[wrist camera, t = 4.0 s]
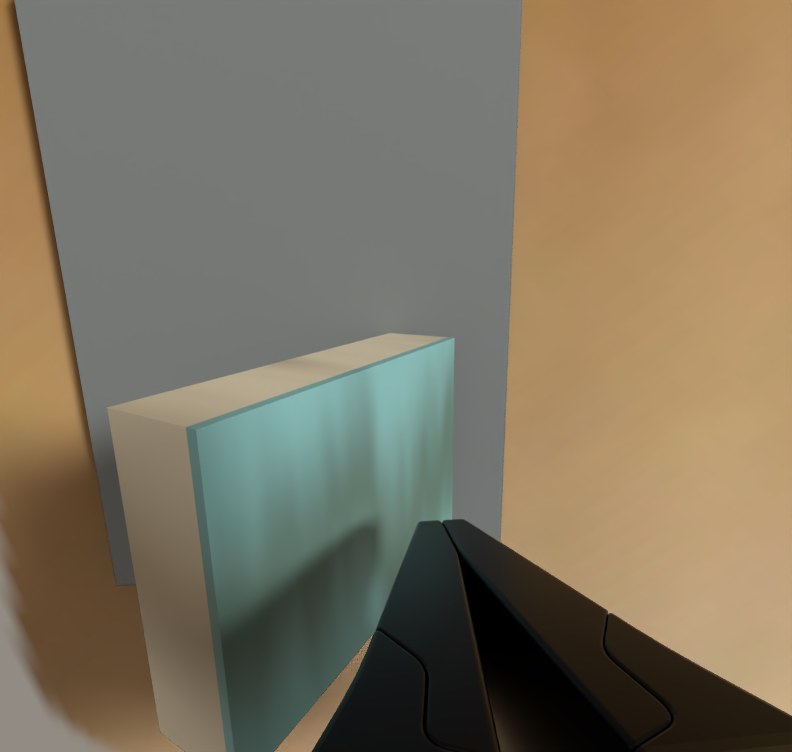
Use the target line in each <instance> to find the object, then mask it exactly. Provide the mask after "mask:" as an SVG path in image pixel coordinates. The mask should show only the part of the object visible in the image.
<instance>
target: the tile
mask: <svg viewBox="0 0 792 752" xmlns="http://www.w3.org/2000/svg"><path fill="white" fill-rule="evenodd" d="M454 339H455V338H450V337H437V336H424V335H410V334H397V333H388V334H384V335H380V336H376V337H373V338H369V339H365V340H361V341H357V342H354V343H350V344H346V345H342V346H339V347H335V348H331V349H327V350H323V351H320V352H316V353H312V354H308V355H304V356H301V357H297V358H293V359H289V360H285V361H282V362H278V363H274V364H270V365H267V366H263V367H259V368H255V369H251V370H248V371H244V372H240V373H236V374H232V375H229V376H225V377H221V378H217V379H213V380H210V381H206V382H202V383H198V384H195V385H191V386H187V387H183V388H179V389H176V390H172V391H168V392H164V393H160V394H157V395H153V396H149V397H145V398H141V399H138V400H134V401H130V402H126V403H122V404H119V405H115V406H111V407H107V410H108V416H109V422H110V428H111V434H112V441H113V447H114V453H115V459H116V465H117V471H118V477H119V484H120V490H121V496H122V502H123V508H124V514H125V520H126V526H127V533H128V539H129V545H130V551H131V557H132V563H133V569H134V575H135V582H136V588H137V594H138V600H139V606H140V612H141V618H142V625H143V631H144V637H145V643H146V649H147V655H148V661H149V667H150V674H151V680H152V686H153V692H154V698H155V704H156V710H157V716H158V723H159V729H160V733H162V734H163V735H164V736H166V737H167V738H168V739H169V740H171V741H172V742H173V743H175V744H176V745H177V746H179V747H180V748H181V749H182V750H184V751H185V752H274V751H275V750H276V749H277V748H278V746H279V745H280V744H281V743H282V742H283V740H284V739H285V738H286V737H287V736H288V734H289V733H290V732H291V731H292V730H293V729H294V727H295V726H296V725H297V724H298V723H299V721H300V720H301V719H302V718H303V717H304V715H305V714H306V713H307V712H308V711H309V710H310V708H311V707H312V706H313V705H314V704H315V702H316V701H317V700H318V699H319V698H320V696H321V695H322V694H323V693H324V692H325V690H326V689H327V688H328V687H329V686H330V685H331V683H332V682H333V681H334V680H335V679H336V677H337V676H338V675H339V674H340V673H341V671H342V670H343V669H344V668H345V667H346V665H347V664H348V663H349V662H350V661H351V660H352V658H353V657H354V656H355V655H356V654H357V652H358V651H359V650H360V649H361V648H362V646H363V645H364V644H365V643H366V642H367V641H368V639H369V638H370V637H371V636H372V635H373V633H374V632H375V631H376V628H377V625H378V623H379V620H380V617H381V615H382V612H383V610H384V607H385V605H386V602H387V600H388V597H389V595H390V592H391V590H392V587H393V585H394V582H395V579H396V577H397V574H398V572H399V569H400V567H401V564H402V562H403V559H404V557H405V554H406V552H407V549H408V547H409V544H410V542H411V539H412V536H413V534H414V531H415V529H416V526H417V524H418V523H419V522H420V521H432V520H439V521H441V523H442V521H444V520H450V519H452V485H453V412H454Z"/></svg>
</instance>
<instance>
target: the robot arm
mask: <svg viewBox="0 0 792 752" xmlns="http://www.w3.org/2000/svg"><path fill="white" fill-rule="evenodd" d="M312 752H792V716H791V715H789V714H788V713H786V712H784V711H782V710H780V709H778V708H776V707H775V706H773V705H771V704H769V703H767V702H765V701H764V700H762V699H760V698H758V697H756V696H754V695H753V694H751V693H749V692H747V691H745V690H743V689H742V688H740V687H738V686H736V685H734V684H732V683H730V682H729V681H727V680H725V679H723V678H721V677H719V676H718V675H716V674H714V673H712V672H710V671H708V670H707V669H705V668H703V667H701V666H699V665H698V664H696V663H694V662H692V661H691V660H689V659H687V658H685V657H683V656H682V655H680V654H678V653H676V652H675V651H673V650H671V649H669V648H667V647H666V646H664V645H662V644H661V643H659V642H657V641H656V640H654V639H653V638H651V637H649V636H648V635H646V634H644V633H643V632H641V631H639V630H638V629H636V628H635V627H633V626H631V625H630V624H628V623H627V622H625V621H623V620H622V619H620V618H619V617H617V616H616V615H614V614H612V613H609V614H608V611H607V610H606V609H604V608H603V607H601V606H600V605H598V604H597V603H595V602H593V601H592V600H590V599H589V598H587V597H586V596H584V595H582V594H581V593H579V592H578V591H576V590H575V589H573V588H571V587H570V586H568V585H567V584H565V583H564V582H562V581H560V580H559V579H557V578H556V577H554V576H553V575H551V574H549V573H548V572H546V571H545V570H543V569H542V568H540V567H539V566H537V565H535V564H534V563H532V562H531V561H529V560H528V559H526V558H524V557H523V556H521V555H520V554H518V553H517V552H515V551H513V550H512V549H510V548H509V547H507V546H506V545H504V544H502V543H501V542H499V541H498V540H496V539H495V538H493V537H491V536H490V535H488V534H487V533H485V532H484V531H482V530H480V529H479V528H477V527H476V526H474V525H473V524H471V523H469V522H468V521H466V520H464V519H450V520H444V521H442V523H441V521H439V520H432V521H420V522H419V523H418V524H417V526H416V529H415V531H414V534H413V536H412V539H411V542H410V544H409V547H408V549H407V552H406V554H405V557H404V559H403V562H402V564H401V567H400V569H399V572H398V574H397V577H396V579H395V582H394V585H393V587H392V590H391V592H390V595H389V597H388V600H387V602H386V605H385V607H384V610H383V612H382V615H381V617H380V620H379V623H378V625H377V628H376V632H375V633H374V634H373V637H372V639H371V642H370V645H369V647H368V650H367V652H366V654H365V656H364V658H363V661H362V663H361V665H360V667H359V670H358V672H357V674H356V676H355V678H354V680H353V682H352V683H351V685H350V687H349V689H348V691H347V692H346V694H345V696H344V698H343V700H342V702H341V703H340V705H339V707H338V709H337V710H336V712H335V714H334V715H333V717H332V719H331V720H330V722H329V724H328V725H327V727H326V729H325V730H324V732H323V734H322V735H321V737H320V739H319V740H318V742H317V744H316V745H315V747H314V749H313V750H312Z"/></svg>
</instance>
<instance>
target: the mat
mask: <svg viewBox="0 0 792 752" xmlns="http://www.w3.org/2000/svg"><path fill="white" fill-rule="evenodd" d="M14 1H15V7H16V13H17V18H18V24H19V30H20V36H21V41H22V47H23V53H24V59H25V64H26V70H27V76H28V82H29V87H30V93H31V99H32V104H33V110H34V116H35V122H36V127H37V133H38V139H39V145H40V150H41V156H42V162H43V168H44V173H45V179H46V185H47V191H48V196H49V202H50V208H51V214H52V219H53V225H54V231H55V236H56V242H57V248H58V254H59V259H60V265H61V271H62V277H63V282H64V288H65V294H66V300H67V305H68V311H69V317H70V323H71V328H72V334H73V340H74V346H75V351H76V357H77V363H78V368H79V374H80V380H81V386H82V391H83V397H84V403H85V409H86V414H87V420H88V426H89V432H90V437H91V443H92V449H93V455H94V460H95V466H96V472H97V478H98V483H99V489H100V495H101V500H102V506H103V512H104V518H105V523H106V529H107V535H108V541H109V546H110V552H111V558H112V564H113V569H114V575H115V581H116V586H123V585H136V582H135V575H134V569H133V563H132V557H131V551H130V545H129V539H128V533H127V526H126V520H125V514H124V508H123V502H122V496H121V490H120V484H119V477H118V471H117V465H116V459H115V453H114V447H113V441H112V434H111V428H110V422H109V416H108V410H107V407H111V406H115V405H119V404H122V403H126V402H130V401H134V400H138V399H141V398H145V397H149V396H153V395H157V394H160V393H164V392H168V391H172V390H176V389H179V388H183V387H187V386H191V385H195V384H198V383H202V382H206V381H210V380H213V379H217V378H221V377H225V376H229V375H232V374H236V373H240V372H244V371H248V370H251V369H255V368H259V367H263V366H267V365H270V364H274V363H278V362H282V361H285V360H289V359H293V358H297V357H301V356H304V355H308V354H312V353H316V352H320V351H323V350H327V349H331V348H335V347H339V346H342V345H346V344H350V343H354V342H357V341H361V340H365V339H369V338H373V337H376V336H380V335H384V334H388V333H397V334H410V335H424V336H437V337H450V338H455V339H454V412H453V485H452V519H464V520H466V521H468V522H469V523H471V524H473V525H474V526H476V527H477V528H479V529H480V530H482V531H484V532H485V533H487V534H488V535H490V536H491V537H493V538H495V539H496V540H498V541H499V542H500V541H501V516H502V492H503V467H504V442H505V417H506V393H507V368H508V343H509V318H510V294H511V269H512V244H513V219H514V194H515V170H516V145H517V120H518V95H519V71H520V46H521V21H522V0H14Z"/></svg>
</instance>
